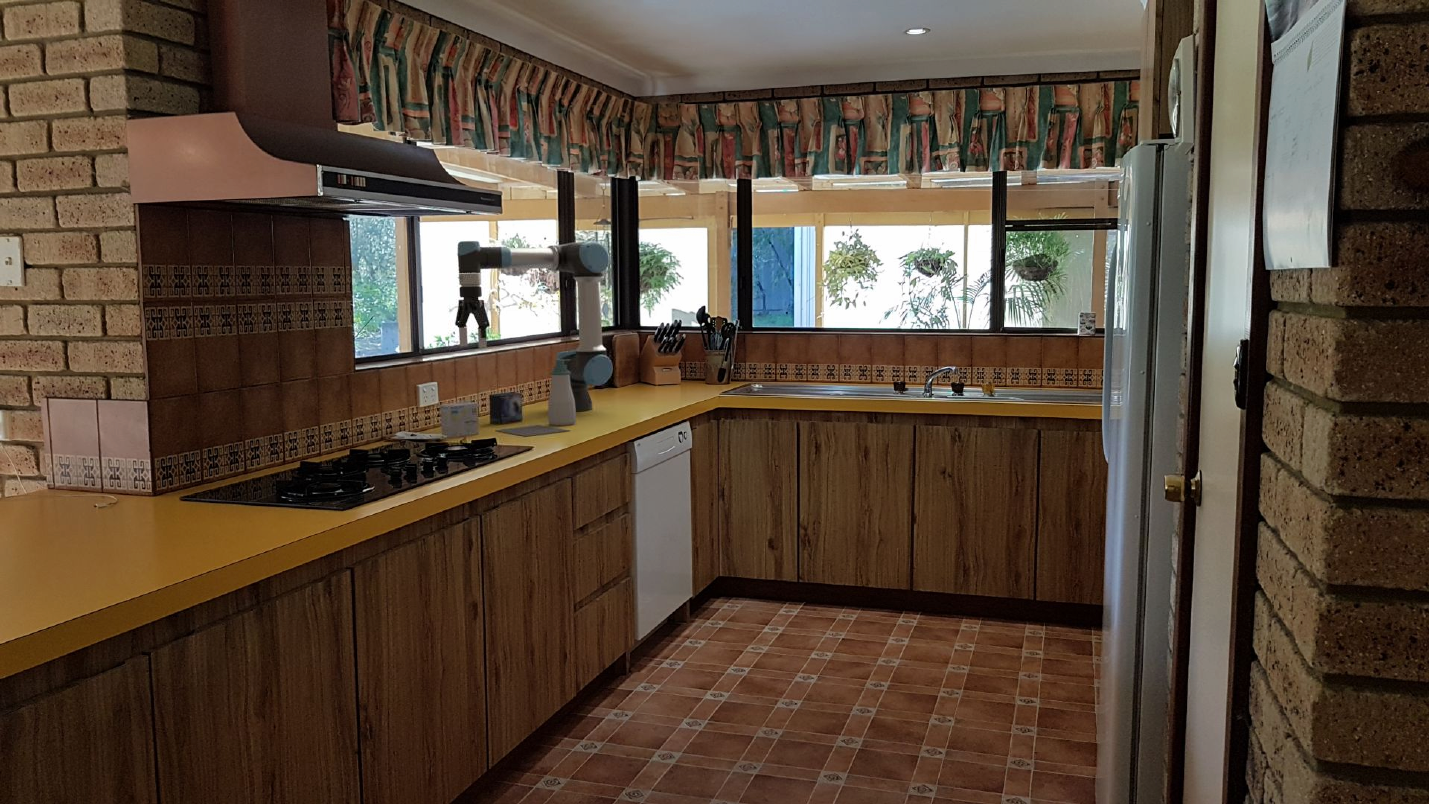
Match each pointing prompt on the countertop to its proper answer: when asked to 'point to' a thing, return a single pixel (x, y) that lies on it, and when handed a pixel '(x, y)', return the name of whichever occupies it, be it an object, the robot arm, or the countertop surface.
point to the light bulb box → (459, 419)
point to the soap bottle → (561, 397)
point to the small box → (505, 408)
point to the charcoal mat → (532, 430)
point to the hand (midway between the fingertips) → (473, 346)
